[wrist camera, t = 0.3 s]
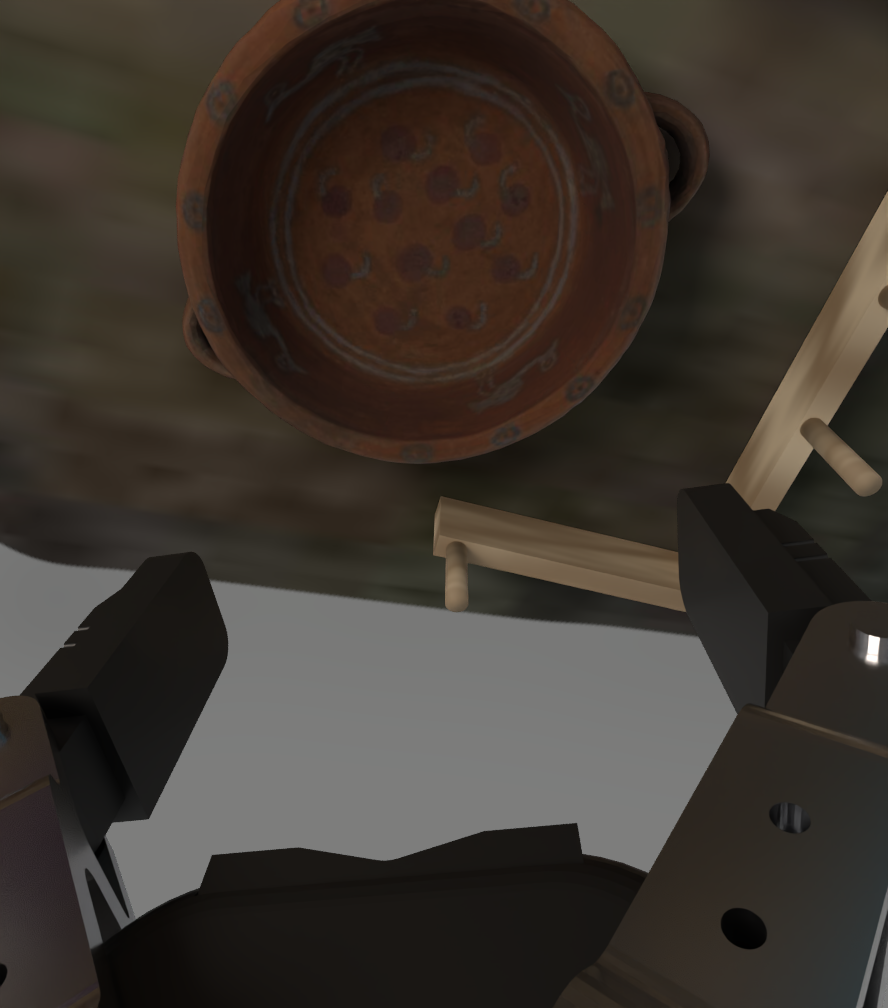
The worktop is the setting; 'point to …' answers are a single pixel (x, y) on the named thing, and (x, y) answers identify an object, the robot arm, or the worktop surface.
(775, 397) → the rack
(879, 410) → the worktop surface
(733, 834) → the robot arm
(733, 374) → the worktop surface
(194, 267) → the dish
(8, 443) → the worktop surface
